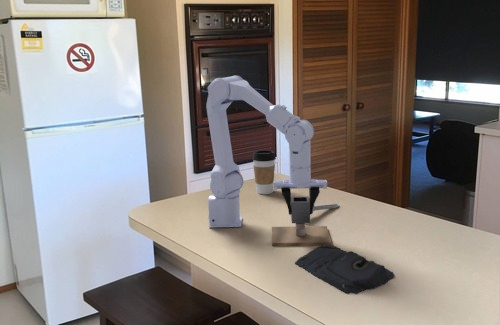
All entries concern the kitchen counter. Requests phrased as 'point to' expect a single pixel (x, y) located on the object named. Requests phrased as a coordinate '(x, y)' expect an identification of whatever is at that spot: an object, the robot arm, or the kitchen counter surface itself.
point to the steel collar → (300, 209)
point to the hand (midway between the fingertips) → (300, 213)
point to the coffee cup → (264, 170)
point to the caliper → (324, 206)
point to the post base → (300, 236)
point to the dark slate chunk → (344, 269)
